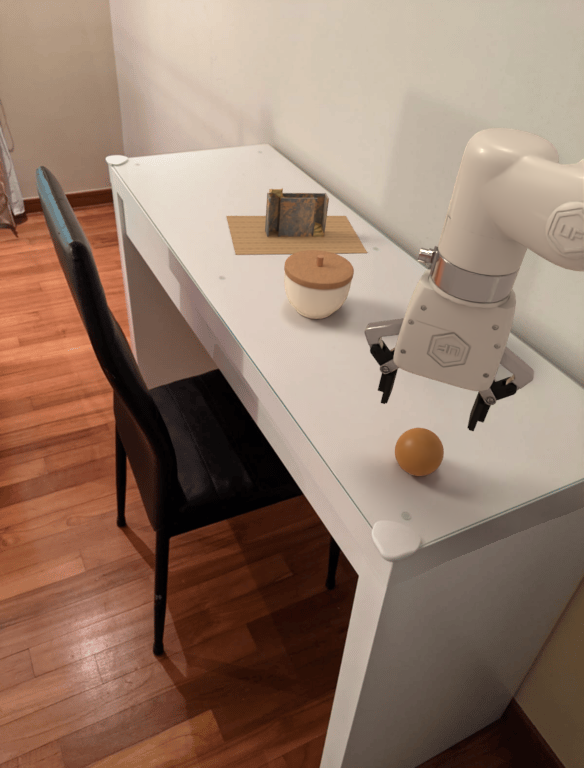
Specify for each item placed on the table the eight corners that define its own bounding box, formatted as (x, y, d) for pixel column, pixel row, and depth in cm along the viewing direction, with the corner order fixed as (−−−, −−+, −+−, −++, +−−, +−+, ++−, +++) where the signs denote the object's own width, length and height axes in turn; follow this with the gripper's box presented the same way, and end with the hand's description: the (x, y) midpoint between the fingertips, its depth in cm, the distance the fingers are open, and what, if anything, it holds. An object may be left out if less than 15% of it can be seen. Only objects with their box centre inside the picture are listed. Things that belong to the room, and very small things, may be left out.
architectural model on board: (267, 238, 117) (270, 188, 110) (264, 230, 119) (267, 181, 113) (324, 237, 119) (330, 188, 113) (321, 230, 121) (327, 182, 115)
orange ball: (440, 459, 74) (452, 426, 71) (433, 492, 70) (444, 458, 67) (396, 445, 76) (405, 412, 72) (386, 476, 71) (395, 443, 68)
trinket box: (359, 307, 100) (368, 255, 94) (324, 335, 93) (332, 281, 87) (304, 284, 104) (310, 233, 98) (267, 310, 97) (271, 256, 91)
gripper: (373, 267, 55) (344, 406, 66) (568, 318, 52) (504, 456, 63) (391, 234, 61) (362, 368, 72) (569, 278, 57) (509, 412, 68)
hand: (428, 409), depth 67 cm, fingers open, 9 cm apart
